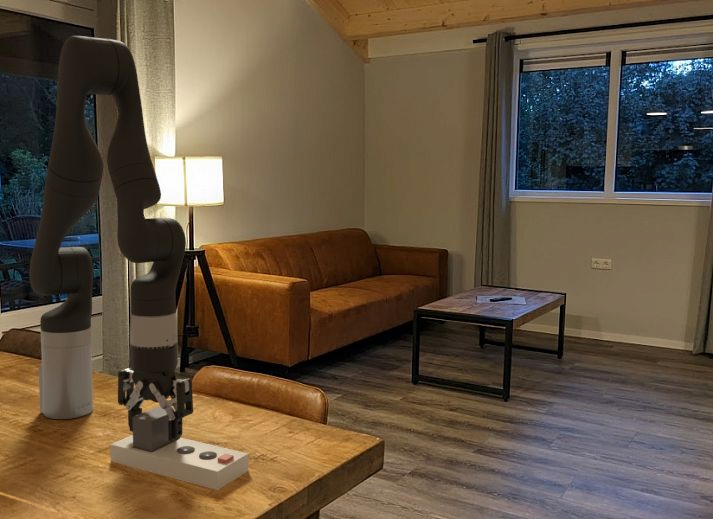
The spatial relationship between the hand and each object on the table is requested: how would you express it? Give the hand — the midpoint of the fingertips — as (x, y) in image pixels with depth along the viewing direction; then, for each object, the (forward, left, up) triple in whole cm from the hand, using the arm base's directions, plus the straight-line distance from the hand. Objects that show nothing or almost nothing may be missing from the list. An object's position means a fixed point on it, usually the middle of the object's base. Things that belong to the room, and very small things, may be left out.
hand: (155, 435), depth 116 cm
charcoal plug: (0, 0, -4) cm, 4 cm away
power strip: (+5, 0, -4) cm, 7 cm away
